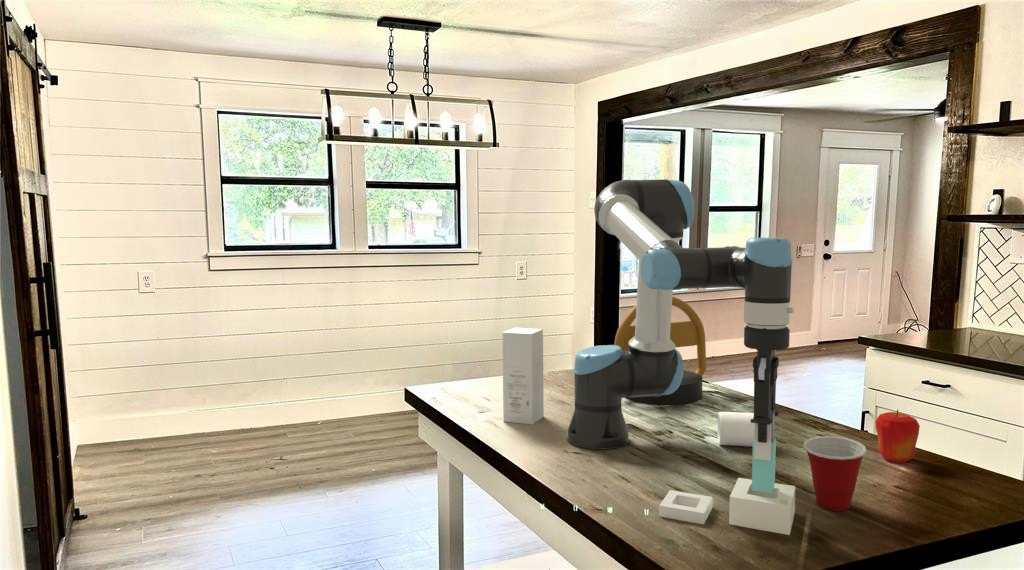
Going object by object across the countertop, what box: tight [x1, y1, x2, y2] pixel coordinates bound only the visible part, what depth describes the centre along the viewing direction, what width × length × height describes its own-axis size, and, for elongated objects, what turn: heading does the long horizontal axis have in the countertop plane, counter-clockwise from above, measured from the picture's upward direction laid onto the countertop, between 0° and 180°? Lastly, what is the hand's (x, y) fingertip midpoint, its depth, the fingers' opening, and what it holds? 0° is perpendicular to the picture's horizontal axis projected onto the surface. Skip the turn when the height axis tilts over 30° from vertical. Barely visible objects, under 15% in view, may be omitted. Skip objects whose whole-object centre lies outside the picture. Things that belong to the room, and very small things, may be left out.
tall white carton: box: [502, 327, 545, 426], centre depth 191 cm, size 9×9×25 cm
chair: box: [613, 296, 707, 406], centre depth 216 cm, size 25×35×32 cm
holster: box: [658, 489, 713, 525], centre depth 127 cm, size 8×8×3 cm
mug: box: [717, 411, 755, 448], centre depth 170 cm, size 12×10×8 cm
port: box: [728, 477, 796, 536], centre depth 124 cm, size 10×10×6 cm
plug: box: [751, 410, 777, 493], centre depth 123 cm, size 4×4×14 cm
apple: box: [874, 408, 921, 464], centre depth 156 cm, size 9×8×12 cm
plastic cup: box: [803, 435, 867, 512], centre depth 131 cm, size 11×11×12 cm
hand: (763, 455), depth 123 cm, fingers closed on plug, 3 cm apart
